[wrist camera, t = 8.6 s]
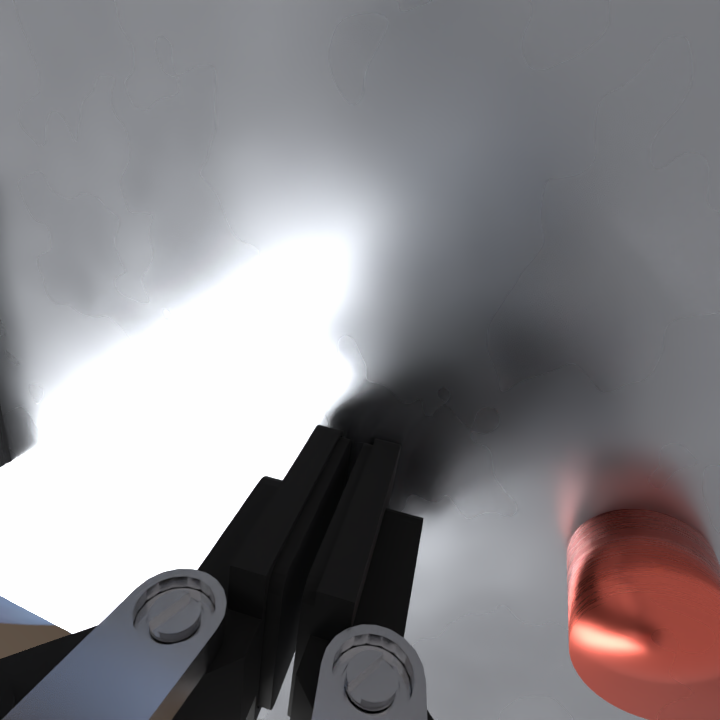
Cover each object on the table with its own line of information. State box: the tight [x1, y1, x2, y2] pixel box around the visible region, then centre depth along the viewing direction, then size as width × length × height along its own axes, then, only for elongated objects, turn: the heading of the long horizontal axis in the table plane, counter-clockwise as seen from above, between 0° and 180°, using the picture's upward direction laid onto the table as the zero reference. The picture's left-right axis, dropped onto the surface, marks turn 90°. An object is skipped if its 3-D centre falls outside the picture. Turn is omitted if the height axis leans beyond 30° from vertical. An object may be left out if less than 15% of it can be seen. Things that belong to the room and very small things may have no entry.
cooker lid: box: [0, 0, 720, 720], centre depth 10 cm, size 22×22×3 cm
